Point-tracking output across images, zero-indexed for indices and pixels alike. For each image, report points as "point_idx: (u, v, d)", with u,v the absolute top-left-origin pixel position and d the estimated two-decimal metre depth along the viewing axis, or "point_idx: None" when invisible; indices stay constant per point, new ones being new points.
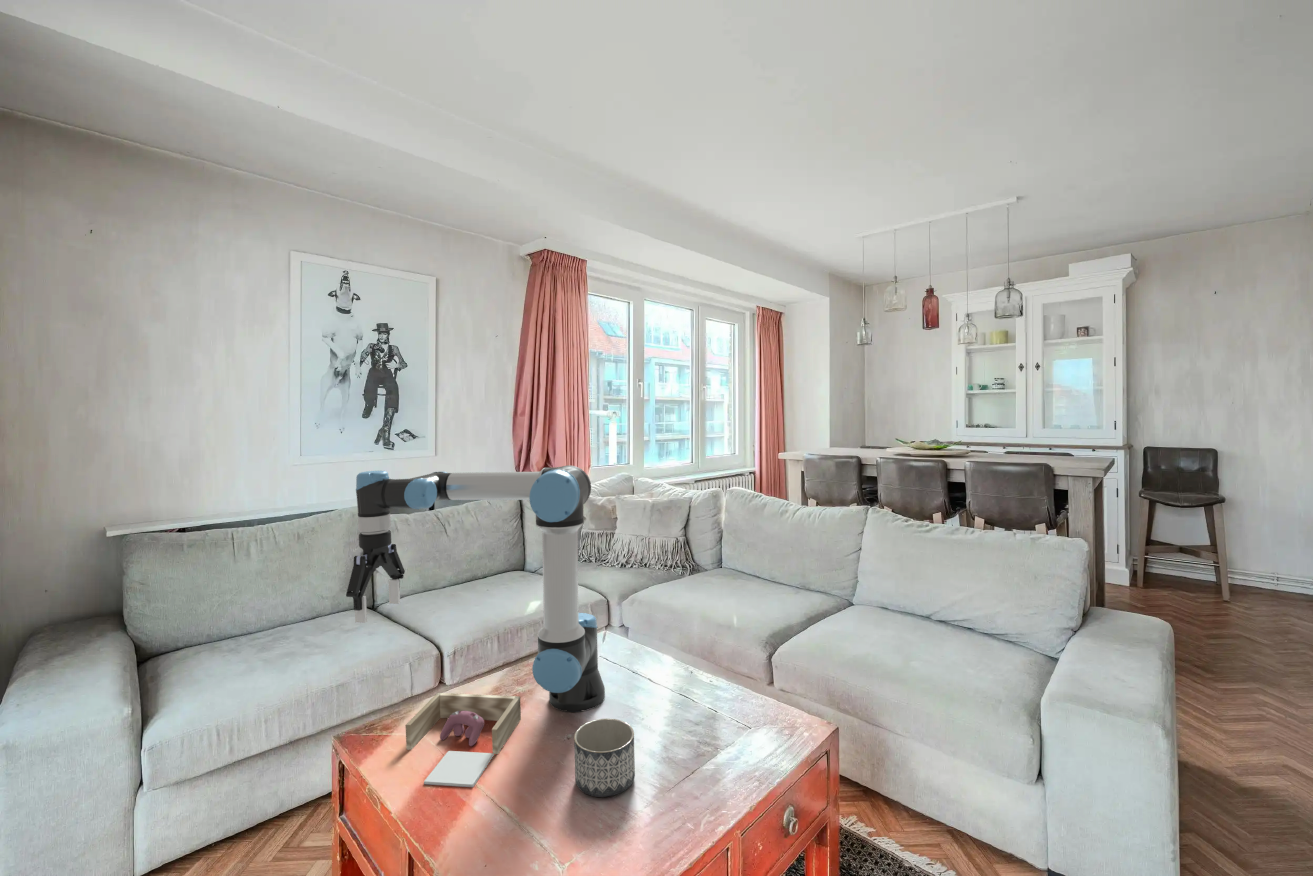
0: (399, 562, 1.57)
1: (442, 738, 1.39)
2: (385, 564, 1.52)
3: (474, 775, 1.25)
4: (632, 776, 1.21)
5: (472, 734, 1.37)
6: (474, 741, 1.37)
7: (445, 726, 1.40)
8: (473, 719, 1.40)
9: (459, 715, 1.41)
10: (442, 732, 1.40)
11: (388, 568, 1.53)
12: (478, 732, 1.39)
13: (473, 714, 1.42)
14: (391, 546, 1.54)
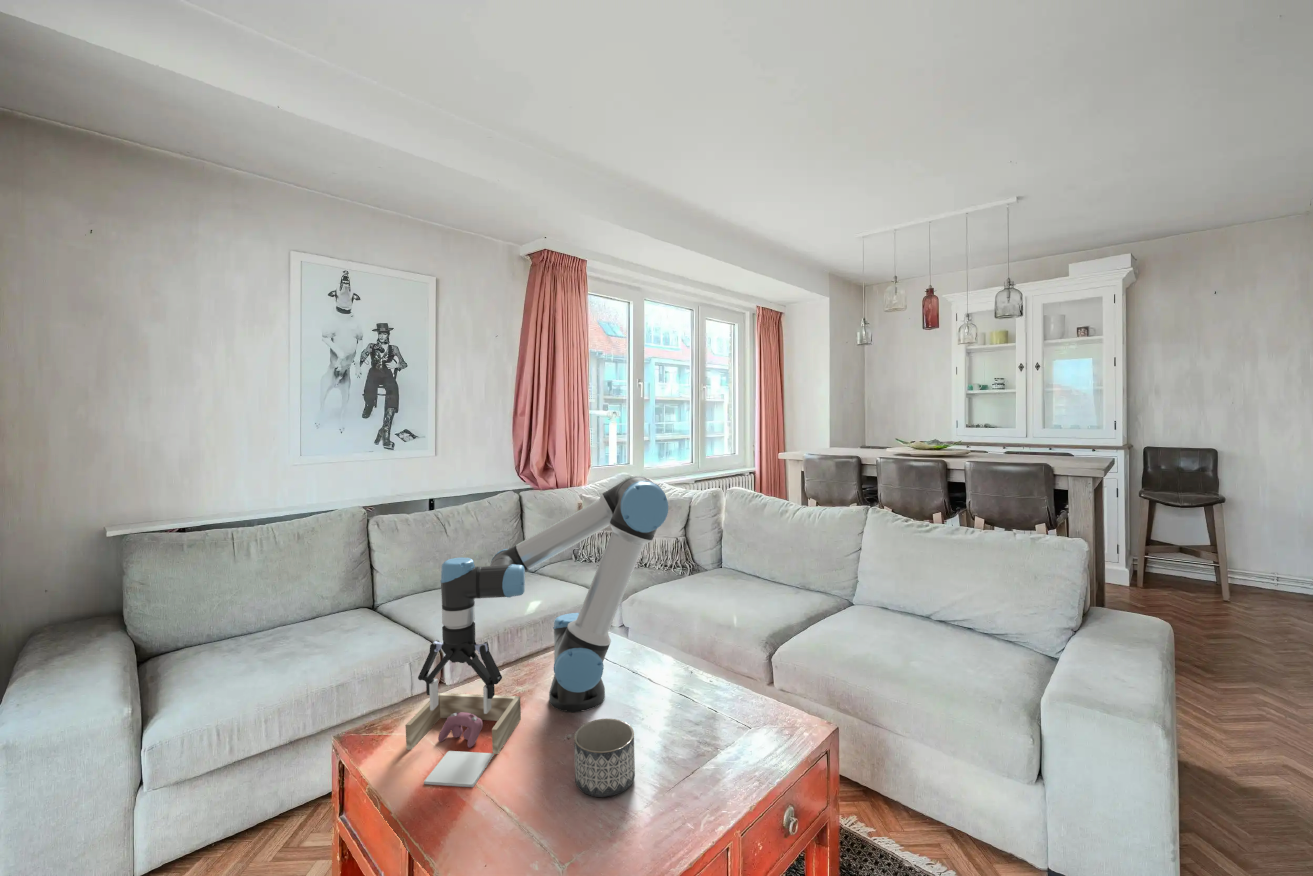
0: (489, 669, 1.38)
1: (440, 740, 1.39)
2: None
3: (474, 775, 1.25)
4: (632, 776, 1.21)
5: (471, 735, 1.37)
6: (472, 742, 1.36)
7: (443, 728, 1.40)
8: (472, 720, 1.39)
9: (458, 717, 1.40)
10: (440, 734, 1.39)
11: None
12: (477, 733, 1.38)
13: (472, 715, 1.41)
14: (480, 647, 1.38)
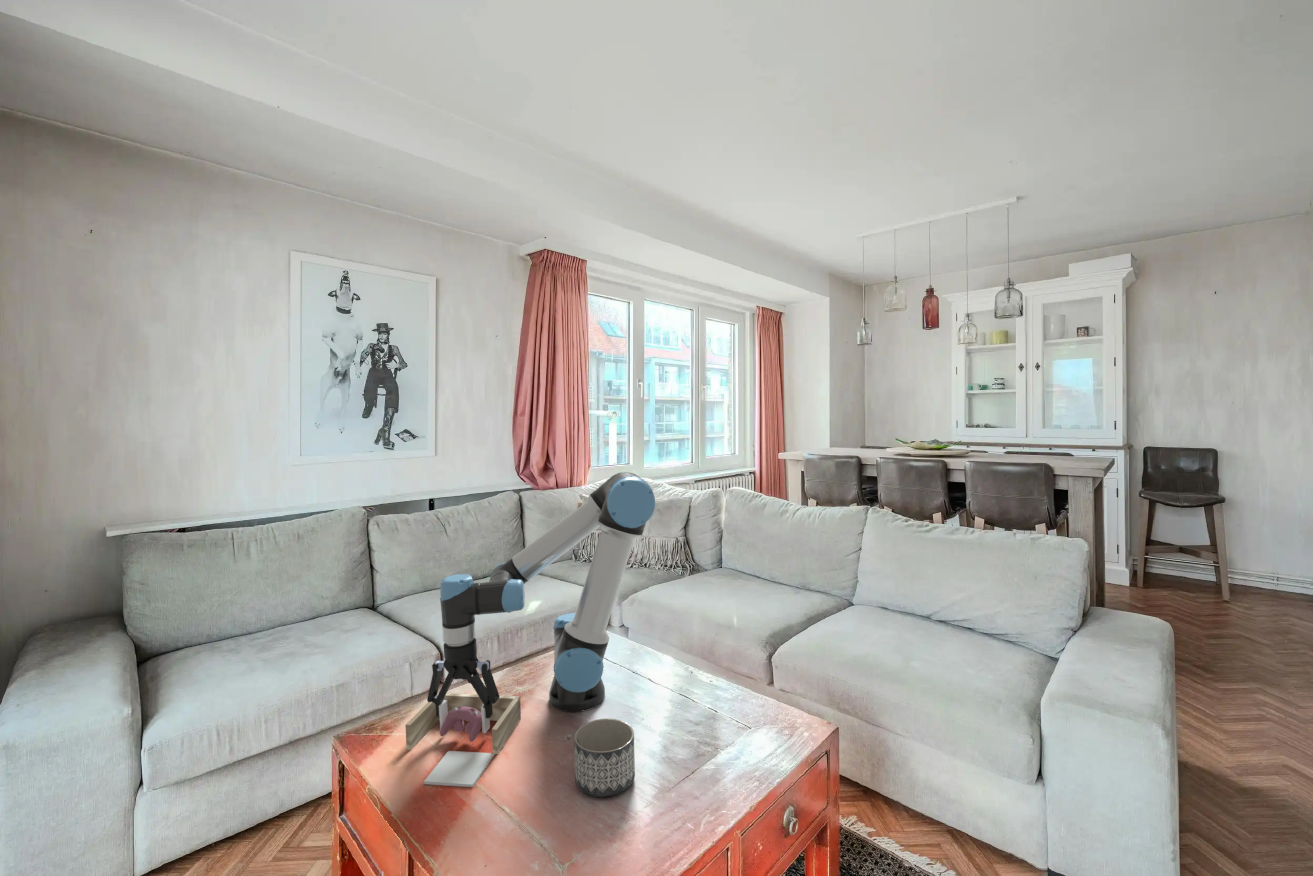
0: (488, 687, 1.38)
1: (442, 734, 1.38)
2: None
3: (474, 775, 1.25)
4: (632, 776, 1.21)
5: (472, 729, 1.36)
6: (474, 736, 1.36)
7: (445, 722, 1.39)
8: (473, 714, 1.39)
9: (459, 711, 1.40)
10: (442, 728, 1.38)
11: None
12: (479, 727, 1.38)
13: (473, 709, 1.40)
14: (482, 665, 1.38)
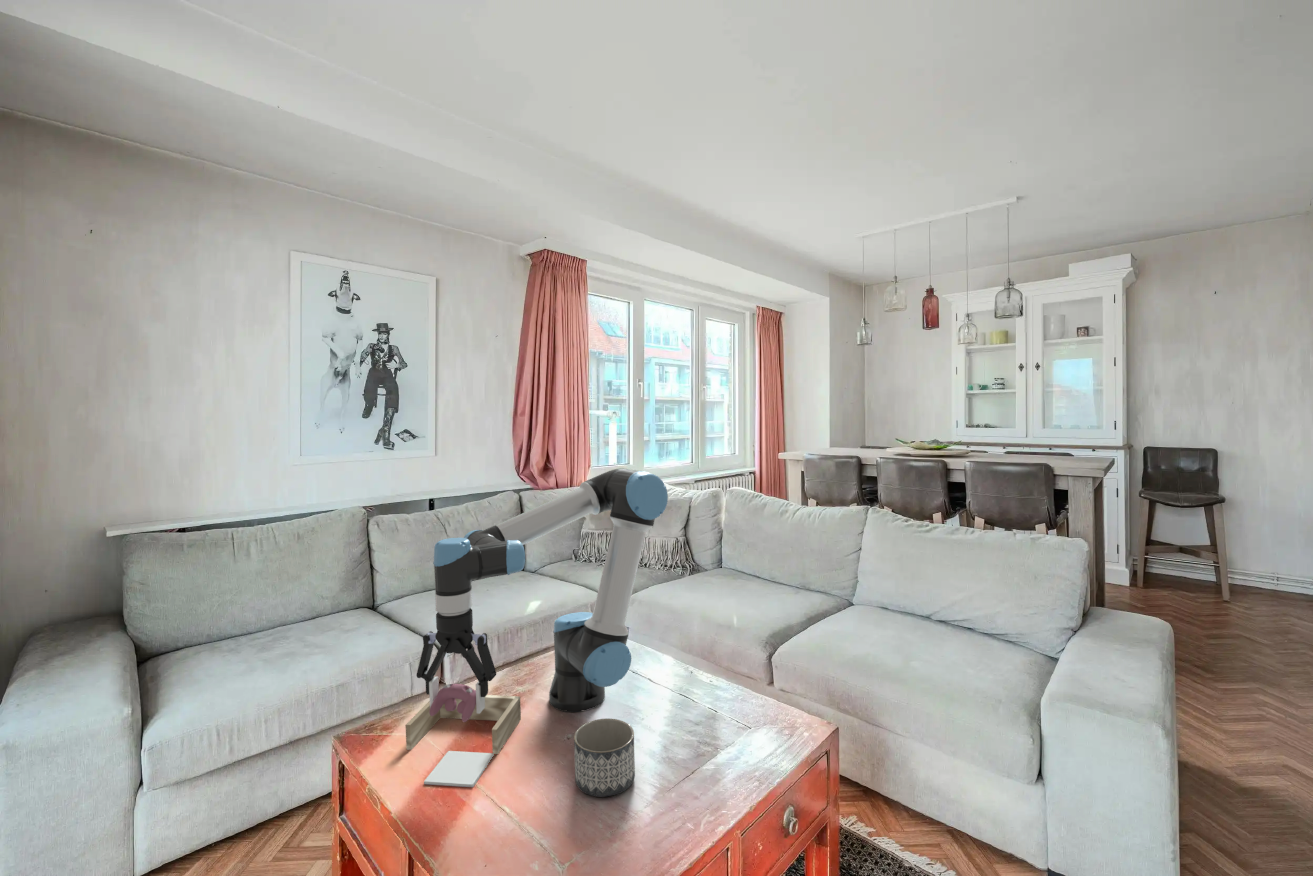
0: (484, 663, 1.25)
1: (432, 713, 1.25)
2: None
3: (474, 775, 1.25)
4: (632, 776, 1.21)
5: (465, 709, 1.23)
6: (467, 716, 1.23)
7: (435, 700, 1.26)
8: (466, 692, 1.25)
9: (451, 688, 1.26)
10: (432, 707, 1.25)
11: None
12: (473, 706, 1.25)
13: (467, 687, 1.27)
14: (478, 638, 1.25)
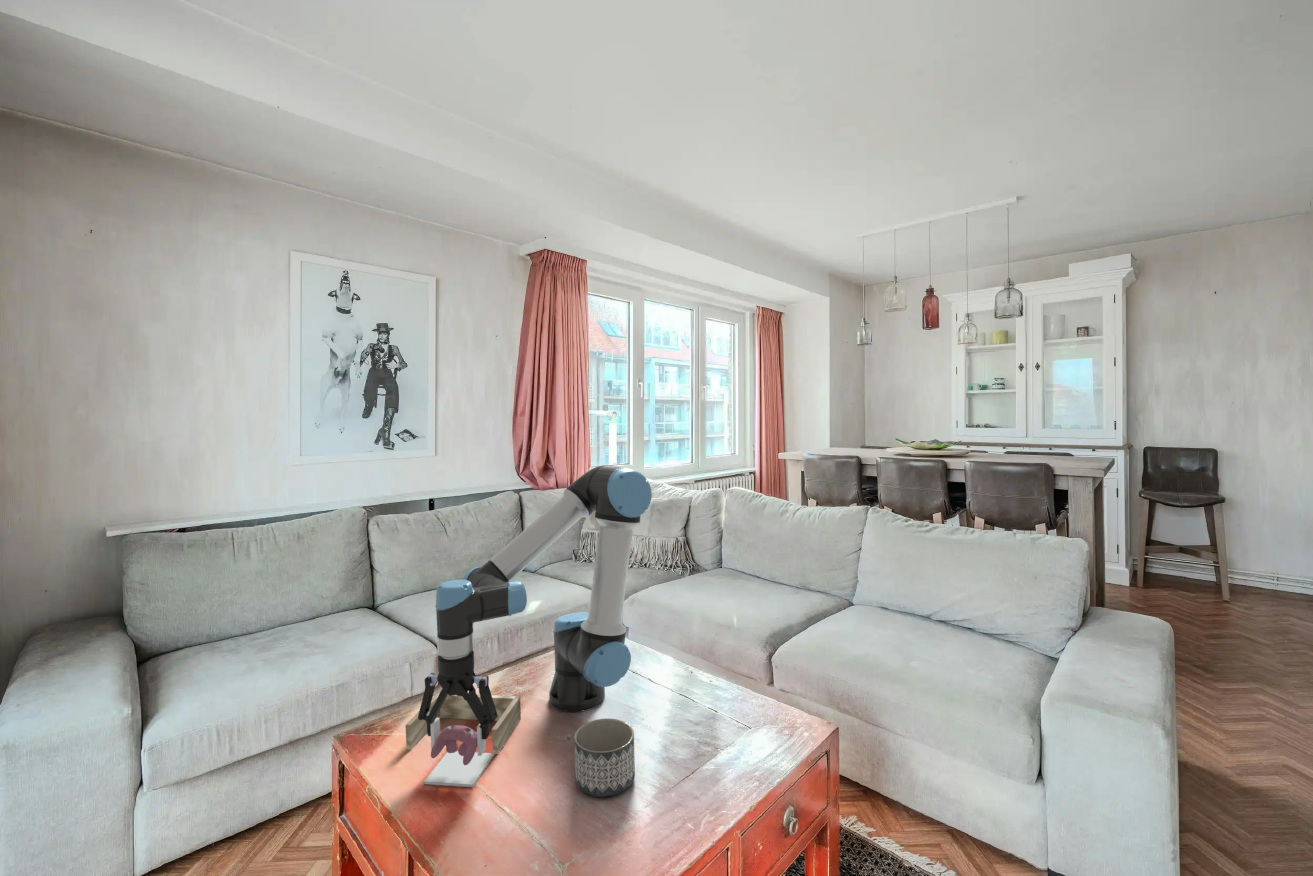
0: (485, 706, 1.25)
1: (433, 756, 1.25)
2: None
3: (474, 775, 1.25)
4: (632, 776, 1.21)
5: (467, 752, 1.24)
6: (468, 759, 1.23)
7: (436, 742, 1.27)
8: (468, 735, 1.26)
9: (452, 731, 1.27)
10: (433, 749, 1.26)
11: None
12: (474, 749, 1.25)
13: (468, 729, 1.28)
14: (480, 680, 1.26)
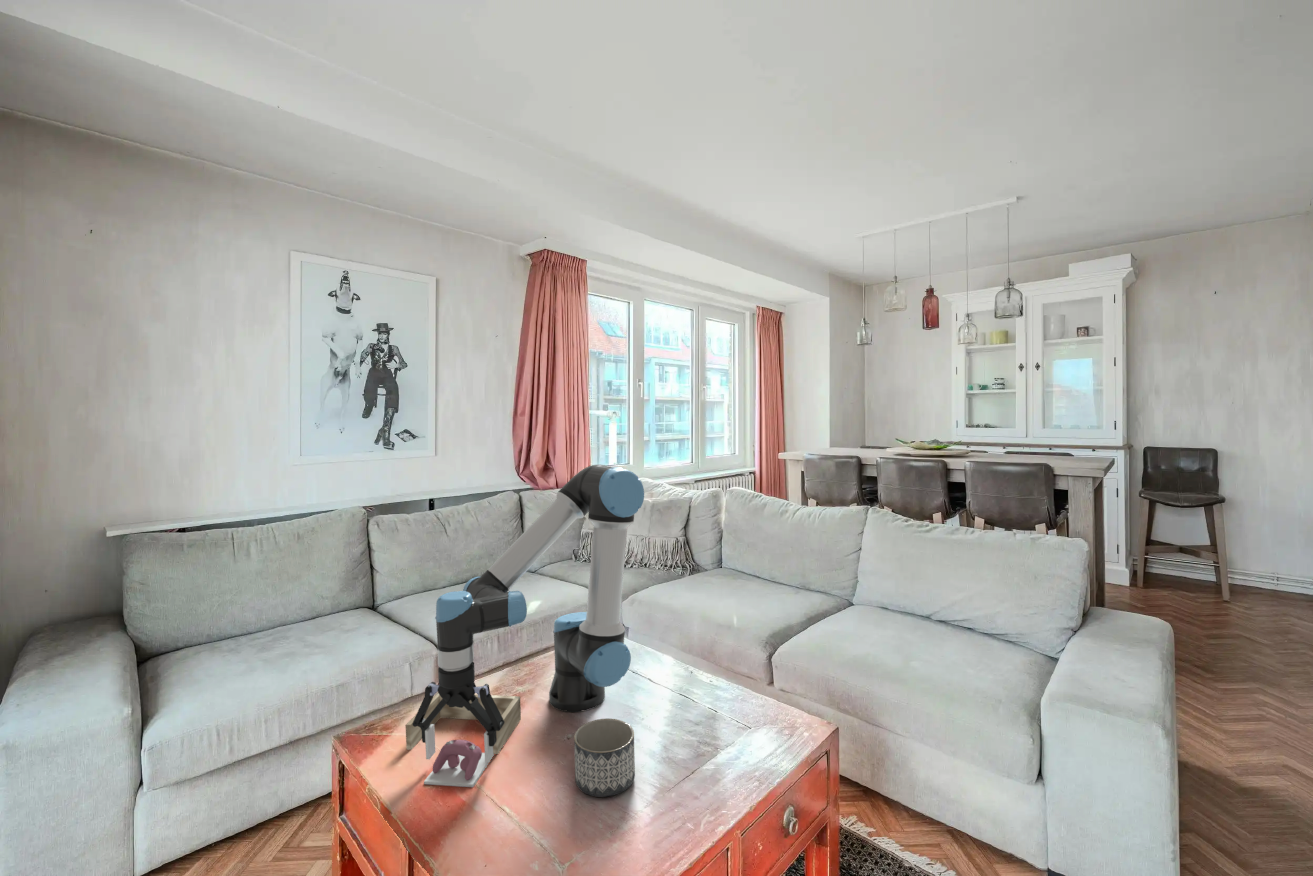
0: (490, 714, 1.25)
1: (435, 771, 1.26)
2: None
3: (474, 775, 1.25)
4: (632, 776, 1.21)
5: (468, 767, 1.24)
6: (470, 774, 1.24)
7: (438, 757, 1.27)
8: (469, 749, 1.26)
9: (454, 745, 1.27)
10: (435, 764, 1.26)
11: None
12: (476, 764, 1.25)
13: (469, 743, 1.28)
14: (480, 690, 1.26)
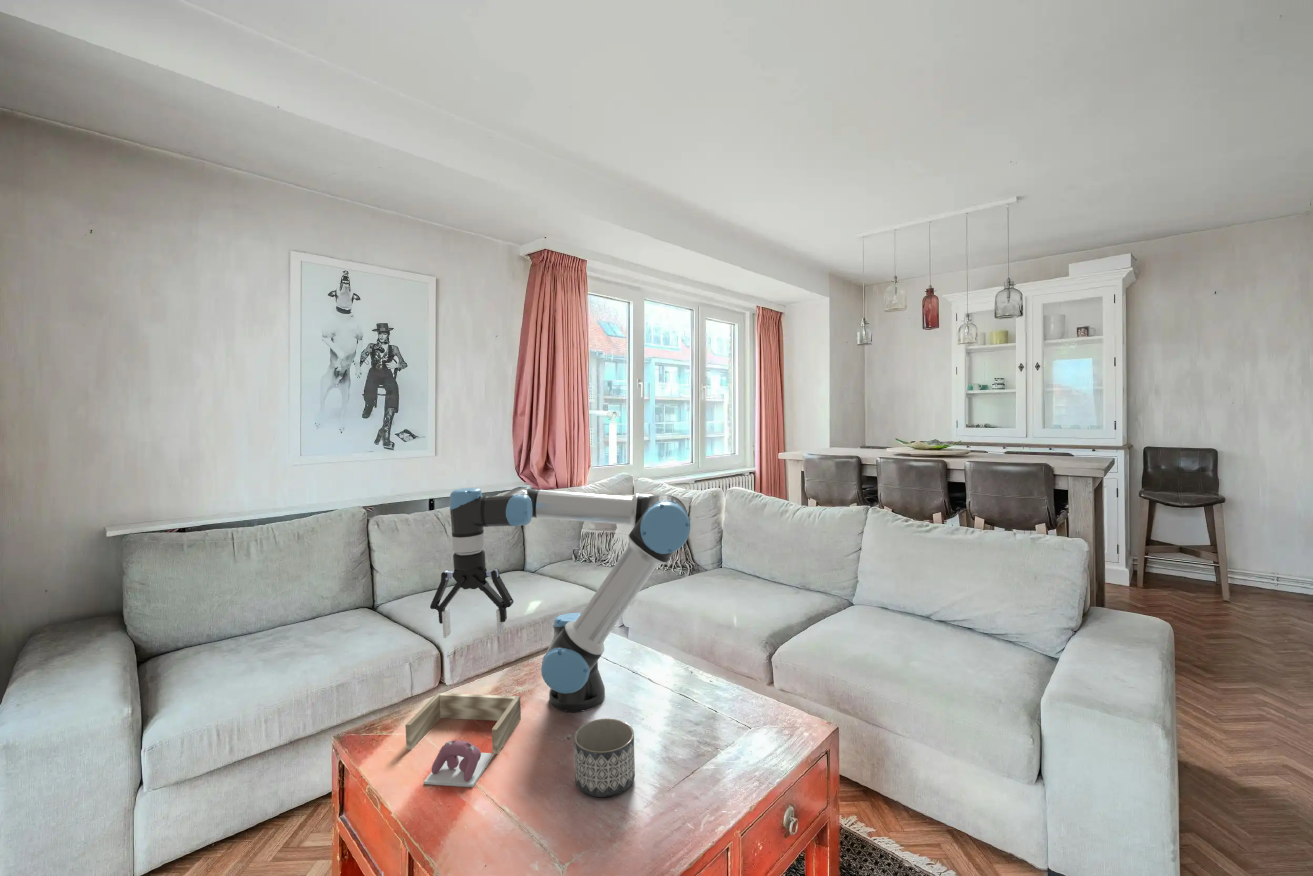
0: (501, 592, 1.42)
1: (434, 772, 1.25)
2: None
3: (474, 775, 1.25)
4: (632, 776, 1.21)
5: (467, 767, 1.24)
6: (469, 775, 1.23)
7: (437, 758, 1.27)
8: (469, 750, 1.26)
9: (453, 746, 1.27)
10: (434, 765, 1.26)
11: None
12: (475, 765, 1.25)
13: (468, 744, 1.28)
14: None
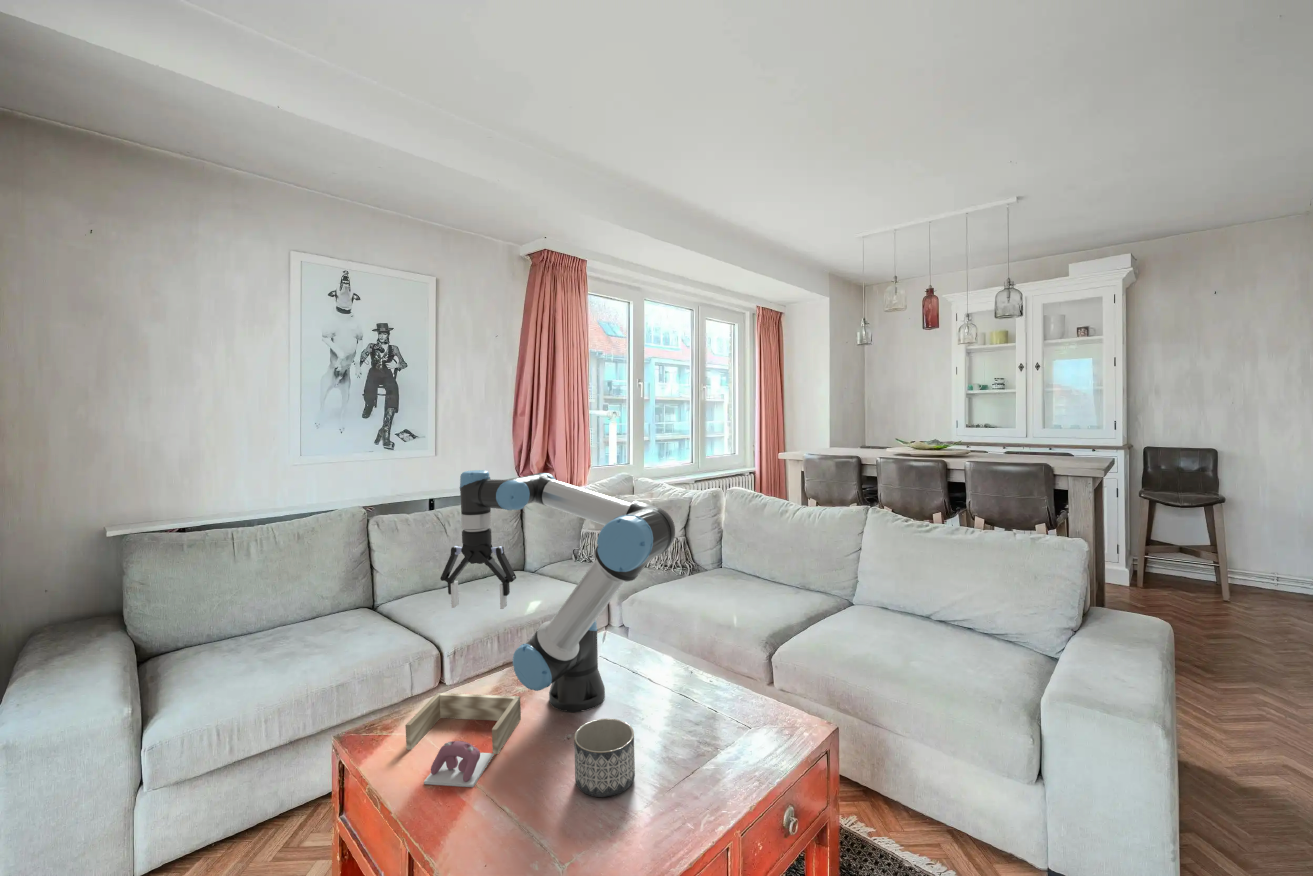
0: (504, 568, 1.53)
1: (433, 772, 1.25)
2: None
3: (474, 775, 1.25)
4: (632, 776, 1.21)
5: (467, 768, 1.23)
6: (468, 776, 1.23)
7: (436, 759, 1.26)
8: (468, 751, 1.26)
9: (452, 747, 1.27)
10: (433, 766, 1.25)
11: None
12: (474, 765, 1.25)
13: (468, 745, 1.27)
14: (496, 549, 1.53)
